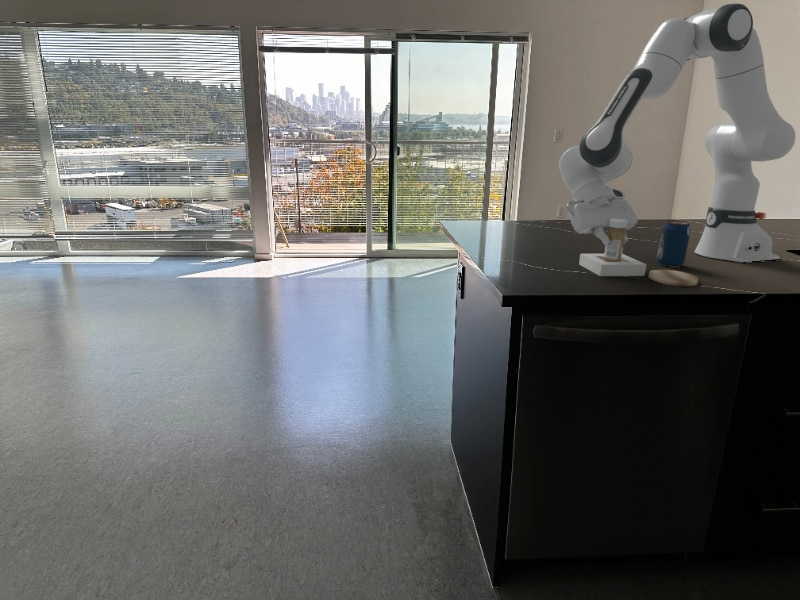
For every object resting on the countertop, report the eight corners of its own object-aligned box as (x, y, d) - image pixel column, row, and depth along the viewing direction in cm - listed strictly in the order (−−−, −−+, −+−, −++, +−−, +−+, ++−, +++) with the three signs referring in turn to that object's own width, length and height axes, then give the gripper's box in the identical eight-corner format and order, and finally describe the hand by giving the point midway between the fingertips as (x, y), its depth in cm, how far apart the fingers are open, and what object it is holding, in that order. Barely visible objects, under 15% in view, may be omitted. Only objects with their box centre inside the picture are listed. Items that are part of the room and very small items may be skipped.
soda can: (688, 266, 140) (697, 223, 137) (674, 269, 137) (683, 225, 133) (664, 260, 146) (672, 219, 142) (650, 263, 142) (658, 221, 139)
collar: (620, 264, 141) (621, 253, 140) (644, 275, 130) (646, 264, 129) (579, 264, 139) (580, 253, 139) (600, 276, 128) (601, 264, 127)
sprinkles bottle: (623, 270, 134) (631, 220, 130) (612, 273, 132) (621, 221, 127) (608, 266, 138) (616, 217, 133) (597, 268, 135) (605, 218, 131)
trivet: (679, 274, 132) (679, 269, 132) (707, 286, 122) (708, 281, 121) (639, 274, 131) (640, 269, 130) (665, 286, 121) (666, 281, 120)
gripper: (571, 194, 130) (595, 238, 125) (627, 191, 139) (652, 233, 133) (557, 209, 135) (579, 252, 130) (612, 205, 144) (635, 246, 139)
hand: (616, 243), depth 132 cm, fingers closed on sprinkles bottle, 4 cm apart
